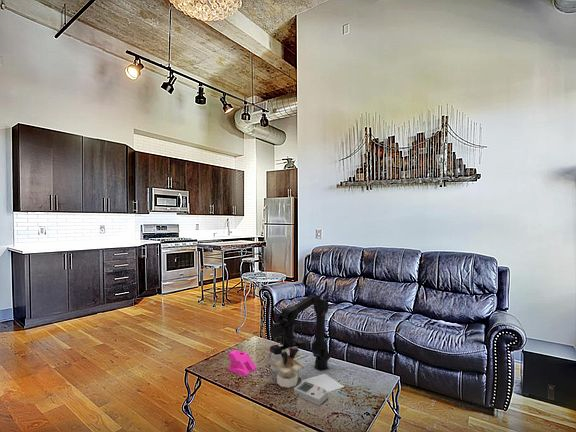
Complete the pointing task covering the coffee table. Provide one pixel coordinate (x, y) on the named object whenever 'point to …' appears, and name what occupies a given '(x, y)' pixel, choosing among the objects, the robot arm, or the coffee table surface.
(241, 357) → the bracket
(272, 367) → the mug
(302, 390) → the handheld gaming device
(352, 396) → the coffee table surface
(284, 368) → the lid
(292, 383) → the bowl
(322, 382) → the mat
